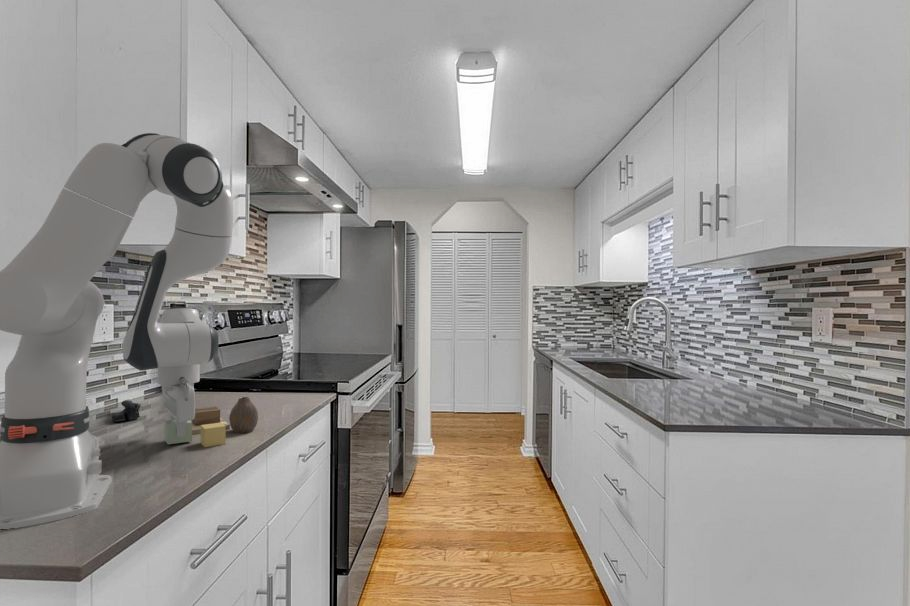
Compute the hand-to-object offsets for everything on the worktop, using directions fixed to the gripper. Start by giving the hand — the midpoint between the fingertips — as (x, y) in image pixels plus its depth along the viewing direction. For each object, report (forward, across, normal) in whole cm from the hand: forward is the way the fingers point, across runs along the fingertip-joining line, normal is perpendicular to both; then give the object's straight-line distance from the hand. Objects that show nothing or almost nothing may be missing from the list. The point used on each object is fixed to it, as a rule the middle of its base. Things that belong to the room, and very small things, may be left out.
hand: (178, 433), depth 119 cm
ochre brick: (+2, -6, -6) cm, 9 cm away
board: (+2, +13, -9) cm, 15 cm away
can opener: (+3, +39, +7) cm, 40 cm away
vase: (+2, +2, -16) cm, 16 cm away
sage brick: (+2, 0, 0) cm, 2 cm away
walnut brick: (+1, +13, -9) cm, 15 cm away
